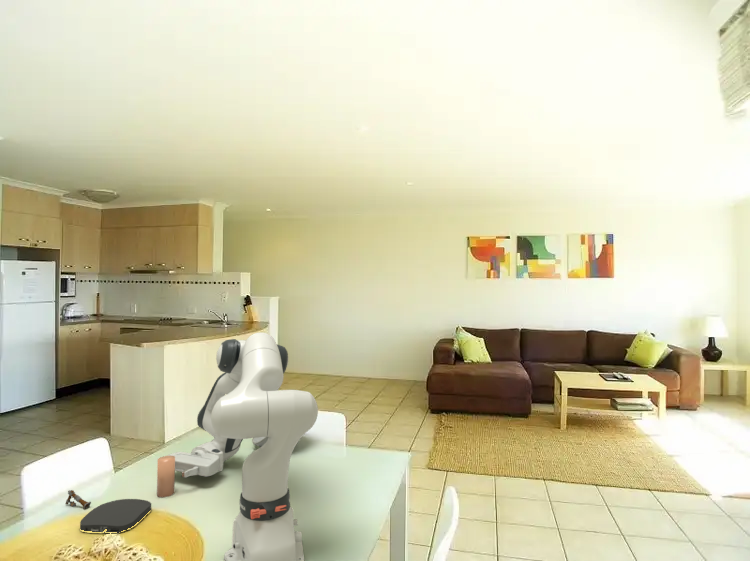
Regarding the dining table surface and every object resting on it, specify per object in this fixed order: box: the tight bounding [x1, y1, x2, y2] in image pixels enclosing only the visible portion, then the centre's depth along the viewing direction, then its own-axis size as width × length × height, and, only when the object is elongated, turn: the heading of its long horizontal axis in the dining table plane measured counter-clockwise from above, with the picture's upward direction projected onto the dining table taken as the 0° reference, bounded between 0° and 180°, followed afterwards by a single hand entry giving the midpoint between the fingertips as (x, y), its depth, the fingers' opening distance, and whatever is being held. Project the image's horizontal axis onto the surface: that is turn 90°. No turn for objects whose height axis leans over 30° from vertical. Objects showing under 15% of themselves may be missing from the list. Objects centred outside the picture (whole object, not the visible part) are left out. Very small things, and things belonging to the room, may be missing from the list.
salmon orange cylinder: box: [156, 455, 176, 498], centre depth 139 cm, size 5×5×11 cm
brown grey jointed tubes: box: [65, 489, 92, 510], centre depth 130 cm, size 2×8×4 cm, turn 76°
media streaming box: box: [79, 498, 152, 534], centre depth 123 cm, size 15×15×3 cm
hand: (172, 472), depth 141 cm, fingers open, 8 cm apart
